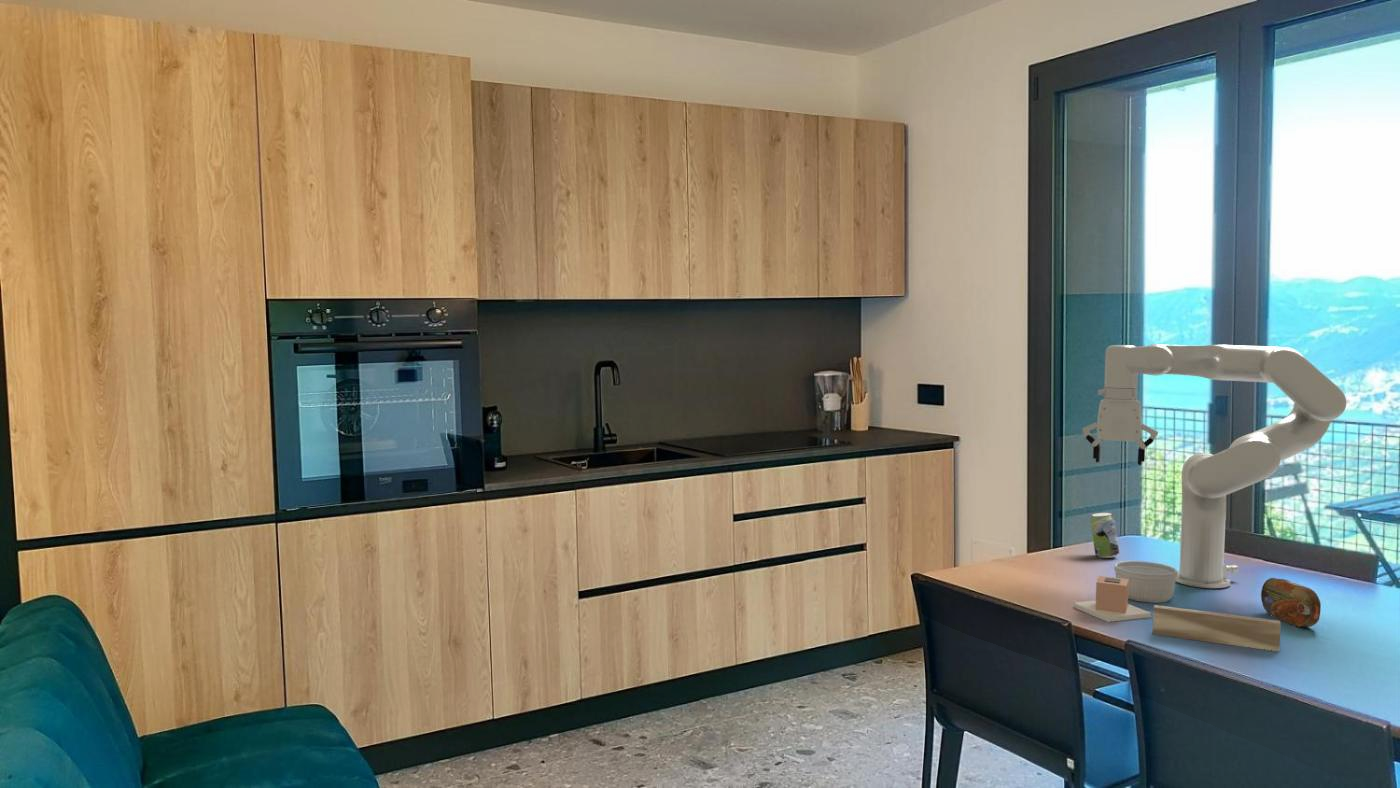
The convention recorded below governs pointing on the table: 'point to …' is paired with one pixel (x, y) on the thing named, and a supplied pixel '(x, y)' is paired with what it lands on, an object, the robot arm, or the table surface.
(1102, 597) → the marked cube
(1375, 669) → the table surface
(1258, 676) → the table surface
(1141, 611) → the display tile
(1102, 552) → the beverage can
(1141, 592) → the ramekin
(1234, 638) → the wooden plank
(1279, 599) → the tin
